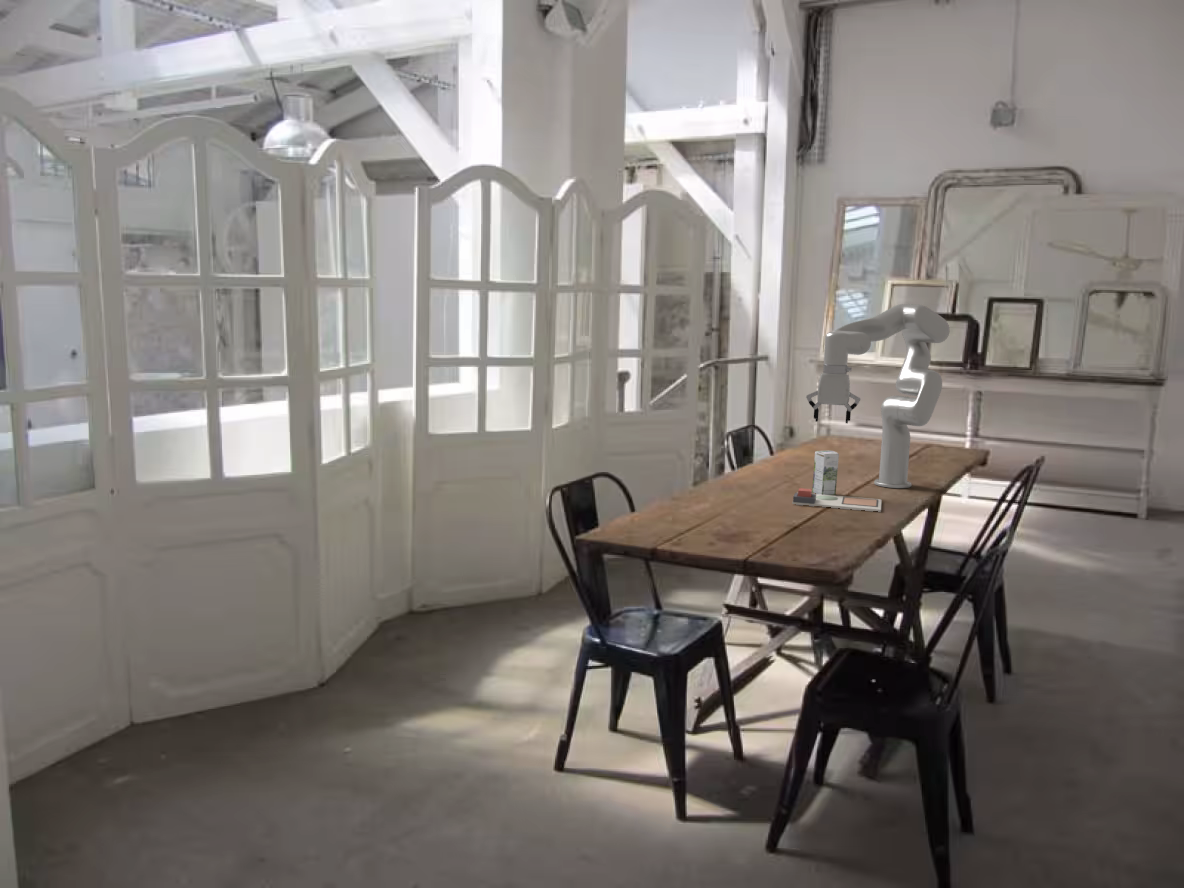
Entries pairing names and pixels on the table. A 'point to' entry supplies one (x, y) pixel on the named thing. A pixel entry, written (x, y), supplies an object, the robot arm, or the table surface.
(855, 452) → the table surface
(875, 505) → the picture board
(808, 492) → the button
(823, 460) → the syrup box
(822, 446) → the table surface
